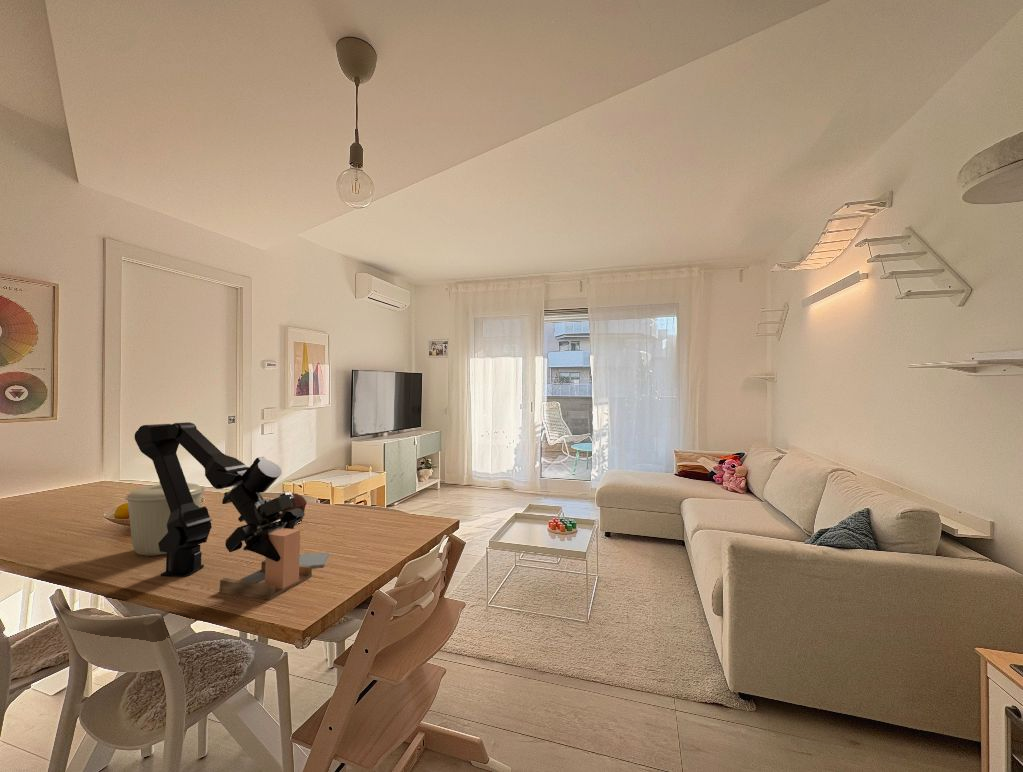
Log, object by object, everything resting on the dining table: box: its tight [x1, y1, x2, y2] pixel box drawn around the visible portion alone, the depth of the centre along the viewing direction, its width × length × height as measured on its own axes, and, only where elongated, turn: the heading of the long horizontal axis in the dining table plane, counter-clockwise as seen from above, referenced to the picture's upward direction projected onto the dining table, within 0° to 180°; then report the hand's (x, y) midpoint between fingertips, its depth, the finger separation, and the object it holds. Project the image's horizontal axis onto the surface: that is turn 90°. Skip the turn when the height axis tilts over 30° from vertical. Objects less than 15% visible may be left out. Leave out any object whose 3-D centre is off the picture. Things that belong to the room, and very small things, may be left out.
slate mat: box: [299, 552, 330, 569], centre depth 116 cm, size 9×9×1 cm
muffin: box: [277, 492, 307, 522], centre depth 152 cm, size 12×11×10 cm
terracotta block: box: [265, 528, 301, 589], centre depth 101 cm, size 5×5×12 cm
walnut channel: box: [218, 559, 313, 601], centre depth 102 cm, size 14×13×3 cm
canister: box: [124, 479, 206, 557], centre depth 124 cm, size 18×18×21 cm
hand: (287, 556), depth 101 cm, fingers closed on terracotta block, 5 cm apart
